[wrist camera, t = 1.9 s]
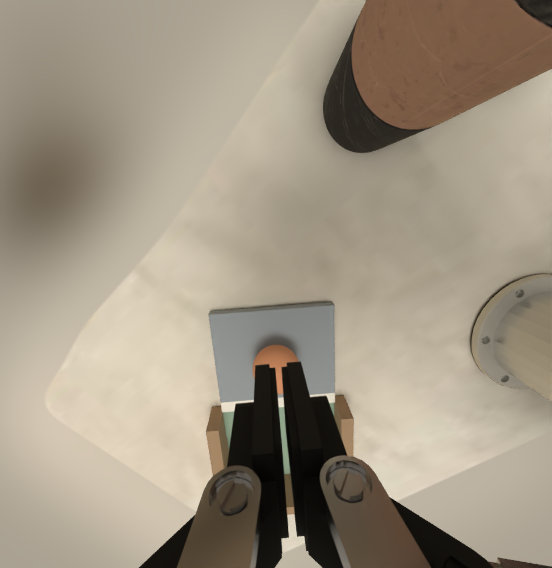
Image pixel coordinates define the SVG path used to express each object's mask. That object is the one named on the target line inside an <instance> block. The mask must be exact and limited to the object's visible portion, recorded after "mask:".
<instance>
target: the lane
mask: <svg viewBox="0 0 552 568" xmlns="http://www.w3.org/2000/svg"><path fill="white" fill-rule="evenodd" d="M209 321H210V328H211V336H212V343H213V350H214V357H215V365H216V372H217V379H218V386H219V394H220V401H221V406H217V407H212V410H211V414H210V418H209V422H208V426H207V430H206V435H207V441H208V447H209V454H210V460H211V466H212V472H213V476H214V475H215V474H216V473H218V472H219V471H221V470H222V469H225V468H227V462H228V454H229V447H230V439H231V432H232V425H233V417H234V410H235V404H236V403H247V402H254V382H255V380H254V377H253V370H252V368H253V362H254V360H255V357H256V356H257V354H258V353H259V352H260V351H261V350H262V349H264V348H265V347H268V346H270V345H282V346H285V347H287V348H289V349H290V350H292V351H293V352H294V354H295V355H296V357H297V358H298V361H301V364H302V367H303V371H304V375H305V379H306V383H307V387H308V391H309V395H310V397H315V396H327V398H328V401H329V404H330V407H331V409H332V412H333V415H334V418H335V421H336V424H337V427H338V430H339V432H340V435H341V438H342V441H343V444H344V447H345V450H346V453H347V456H352V457H353V427H354V418H353V416H352V414H351V411H350V409H349V407H348V404H347V402H346V400H345V398H344V395H342V396H335V350H334V304H333V303H332V302H322V303H309V304H296V305H284V306H271V307H258V308H245V309H232V310H219V311H210V313H209ZM278 404H279V416H280V427H281V439H282V451H283V464H284V478H285V492H286V505H287V515H288V514H295V513H294V503H293V494H292V485H291V476H290V467H289V457H288V448H287V439H286V428H285V414H284V399H283V394H278Z"/></svg>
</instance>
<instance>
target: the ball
mask: <svg viewBox="0 0 552 568" xmlns="http://www.w3.org/2000/svg"><path fill="white" fill-rule="evenodd" d="M287 362H299V361H298V358H297V357H296V355H295V354H294V352H293V351H292V350H290V349H289V348H287V347H285V346H282V345H270V346H268V347H265V348H264V349H262V350H261V351H260V352H259V353H258V354H257V356H256V357H255V360H254V362H253V368H252V370H253V377H254V380H255V365H263V364H269V365H270V368H274V367H275V370H276V381H277V393H278V394H283V384H282V369H281V367H286V366H287Z"/></svg>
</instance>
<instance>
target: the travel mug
mask: <svg viewBox="0 0 552 568" xmlns="http://www.w3.org/2000/svg"><path fill="white" fill-rule="evenodd" d="M550 69H552V0H367V1H366V3H365V5H364V7H363V8H362V10H361V13H360V15H359V17H358V19H357V21H356V23H355V26H354V28H353V30H352V32H351V34H350V37H349V39H348V41H347V43H346V45H345V48H344V50H343V52H342V54H341V56H340V59H339V61H338V63H337V65H336V68H335V70H334V72H333V74H332V76H331V79H330V81H329V84H328V86H327V89H326V92H325V96H324V103H323V112H324V119H325V123H326V126H327V129H328V131H329V133H330V134H331V136H332V137H333V139H334V140H335V141H336V142H337V143H338V144H340V145H341V146H342V147H344V148H346V149H348V150H350V151H354V152H360V153H361V152H371V151H374V150H378V149H380V148H383V147H385V146H388V145H390V144H393V143H395V142H397V141H400V140H402V139H405V138H407V137H409V136H412V135H414V134H417V133H419V132H421V131H424V130H426V129H429V128H431V127H433V126H435V125H438V124H440V123H442V122H444V121H446V120H448V119H450V118H452V117H454V116H456V115H458V114H460V113H462V112H465V111H467V110H469V109H471V108H473V107H475V106H477V105H479V104H481V103H483V102H485V101H487V100H489V99H491V98H493V97H495V96H497V95H499V94H501V93H503V92H505V91H507V90H509V89H511V88H513V87H515V86H517V85H519V84H521V83H523V82H525V81H527V80H529V79H531V78H533V77H535V76H538V75H540V74H542V73H544V72H546V71H548V70H550Z"/></svg>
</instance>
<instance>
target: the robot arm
mask: <svg viewBox="0 0 552 568" xmlns="http://www.w3.org/2000/svg"><path fill="white" fill-rule="evenodd" d="M472 353H473V357H474V360H475V362H476V364H477V365H478V367H479V368H480V369H481V371H482V372H483V373H484V374H485V375H487V376H488V377H489V378H491V379H492V380H493V381H495V382H497V383H498V384H500V385H503V386H506V387H510V388H519V389H524V388H532V389H533V390H535V391H536V392H538V393H539V394H541V395H542V396H544V397H545V398H547V399H548V400H550V401H551V402H552V275H551V274H540V275H533V276H529V277H525V278H522V279H520V280H518V281H516V282H513V283H511V284H510V285H508V286H507V287H505V288H504V289H502V290H501V291H500V292H498V293H497V294H496V295H495V296H494V297H493V298H492V299H491V300H490V301H489V302H488V304H487V305H486V306H485V307H484V308H483V310H482V312H481V313H480V315H479V317H478V319H477V321H476V324H475V326H474V329H473V334H472ZM281 369H282V384H283V399H284V414H285V428H286V439H287V448H288V457H289V467H290V476H291V485H292V494H293V503H294V513H295V522H296V531H297V537H298V536H304V537H305V544H306V551H308V552H309V555H310V556H311V557H312V558H313V559H314V560H315V561H316V562H317V563H318V564H319V565H321V566H322V568H552V567H550V566H544V565H538V564H532V563H527V562H520V561H514V560H508V559H503V558H497V563H493V562H488V561H487V560H486V559H484V558H483V557H482V556H480V555H479V554H478V553H477V552H475V551H474V550H472V549H471V548H469V547H468V546H466V545H465V544H463V543H461V542H460V541H458V540H457V539H455V538H453V537H452V536H450V535H449V534H447V533H446V532H444V531H442V530H441V529H439V528H437V527H436V526H434V525H433V524H431V523H430V522H428V521H426V520H425V519H423V518H422V517H420V516H419V515H417V514H415V513H414V512H412V511H411V510H409V509H407V508H406V507H404V506H403V505H401V504H400V503H398V502H396V501H395V500H393V499H392V498H390V497H389V496H388V494H387V492H386V491H385V489H384V487H383V486H382V484H381V482H380V481H379V479H378V477H377V476H376V474H375V473H374V471H373V470H372V469H371V467H370V466H369V465H367V464H366V463H365V462H363V461H362V460H360V459H358V458H355V457H352V456H347V453H346V450H345V447H344V444H343V441H342V438H341V435H340V432H339V430H338V427H337V424H336V421H335V418H334V415H333V412H332V409H331V407H330V404H329V401H328V398H327V396H315V397H310V395H309V391H308V387H307V383H306V379H305V375H304V371H303V367H302V364H301V361H299V362H287V366H286V367H281ZM281 538H289V533H288V519H287V505H286V492H285V478H284V464H283V451H282V439H281V427H280V416H279V404H278V393H277V381H276V370H275V367H274V368H270V365H269V364H263V365H255V382H254V402H247V403H236V404H235V410H234V417H233V425H232V432H231V439H230V447H229V454H228V462H227V468H225V469H222V470H221V471H219V472H218V473H216V474H215V475H214V476H213V477H212V478H211V479H210V480H209V482H208V483H207V485H206V487H205V489H204V491H203V494H202V497H201V500H200V503H199V506H198V509H197V512H196V514H195V515H194V516H193V517H192V518H191V519H190V520H189V521H188V522H187V523H186V524H185V525H184V526H183V527H182V528H181V529H180V530H178V531H177V532H176V533H175V534H174V535H173V536H172V537H171V538H170V539H169V540H168V541H167V542H166V543H165V544H164V545H163V546H161V547H160V548H159V549H158V550H157V551H156V552H155V553H154V554H153V555H152V556H151V557H150V558H149V559H148V560H147V561H146V562H144V564H142V565H141V566H140V567H139V568H275V566H276V565H277V564H278V562H279V561H280V559H281V558H282V542H281Z"/></svg>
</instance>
